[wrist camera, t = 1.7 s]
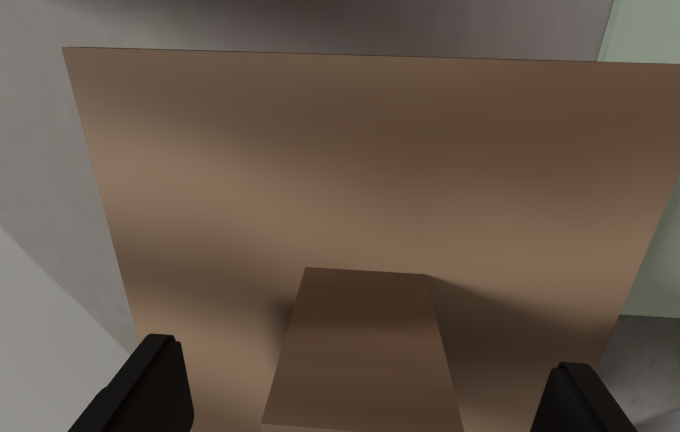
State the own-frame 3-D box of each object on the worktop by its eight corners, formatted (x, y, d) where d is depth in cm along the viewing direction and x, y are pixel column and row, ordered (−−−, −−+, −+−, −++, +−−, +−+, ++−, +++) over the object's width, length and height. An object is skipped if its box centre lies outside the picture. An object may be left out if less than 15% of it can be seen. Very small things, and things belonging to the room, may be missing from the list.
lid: (99, 46, 10) (-261, 49, 4) (676, 63, 9) (1180, 92, 4) (183, 420, 16) (82, 626, 11) (532, 449, 16) (629, 688, 10)
